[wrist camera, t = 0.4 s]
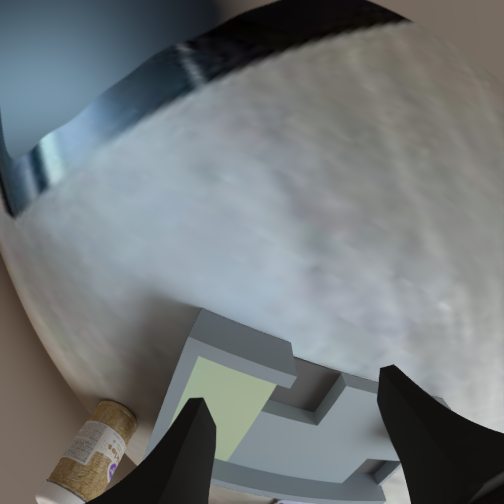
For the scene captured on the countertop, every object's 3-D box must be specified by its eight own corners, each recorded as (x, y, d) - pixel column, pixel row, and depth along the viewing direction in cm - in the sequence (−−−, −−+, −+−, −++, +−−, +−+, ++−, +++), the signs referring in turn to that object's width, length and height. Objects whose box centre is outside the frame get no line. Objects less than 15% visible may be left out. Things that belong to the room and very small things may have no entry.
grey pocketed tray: (371, 478, 25) (380, 505, 21) (156, 427, 24) (142, 459, 19) (448, 390, 22) (469, 416, 18) (201, 307, 21) (188, 336, 17)
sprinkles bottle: (142, 435, 24) (97, 539, 11) (104, 427, 24) (50, 518, 11) (132, 402, 23) (71, 512, 10) (91, 394, 23) (22, 488, 10)
